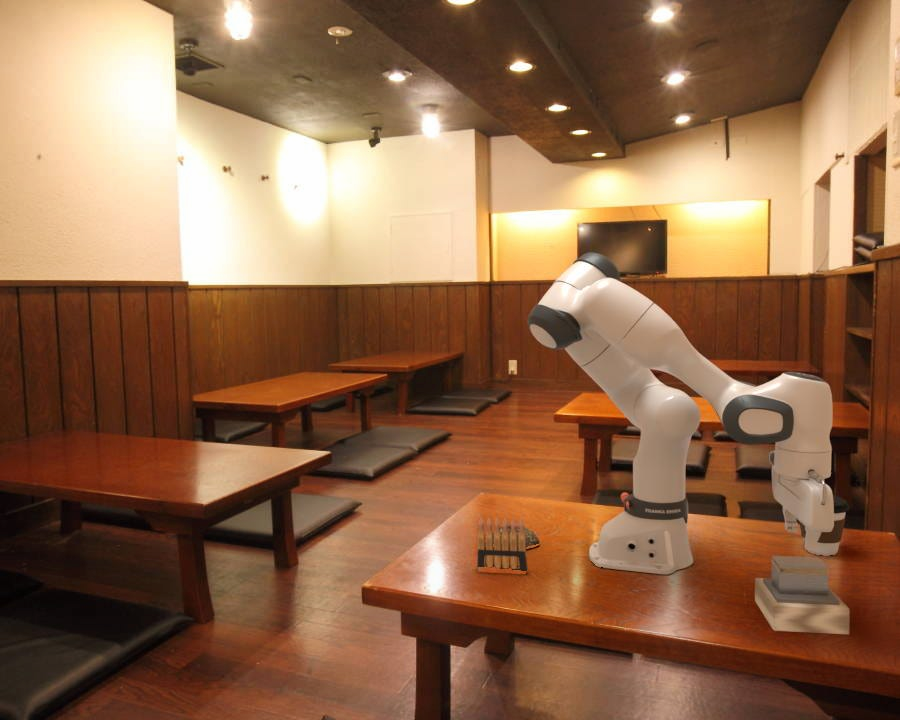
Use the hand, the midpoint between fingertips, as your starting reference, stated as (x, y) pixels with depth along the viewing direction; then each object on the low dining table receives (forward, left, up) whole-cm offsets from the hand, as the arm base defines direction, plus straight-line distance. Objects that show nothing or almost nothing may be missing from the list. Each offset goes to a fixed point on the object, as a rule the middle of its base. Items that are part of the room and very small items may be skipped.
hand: (800, 540), depth 121 cm
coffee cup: (+15, +34, -14) cm, 39 cm away
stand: (0, 0, -14) cm, 14 cm away
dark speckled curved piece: (-55, +32, -15) cm, 65 cm away
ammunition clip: (-55, +15, -14) cm, 59 cm away
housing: (0, 0, -9) cm, 9 cm away
